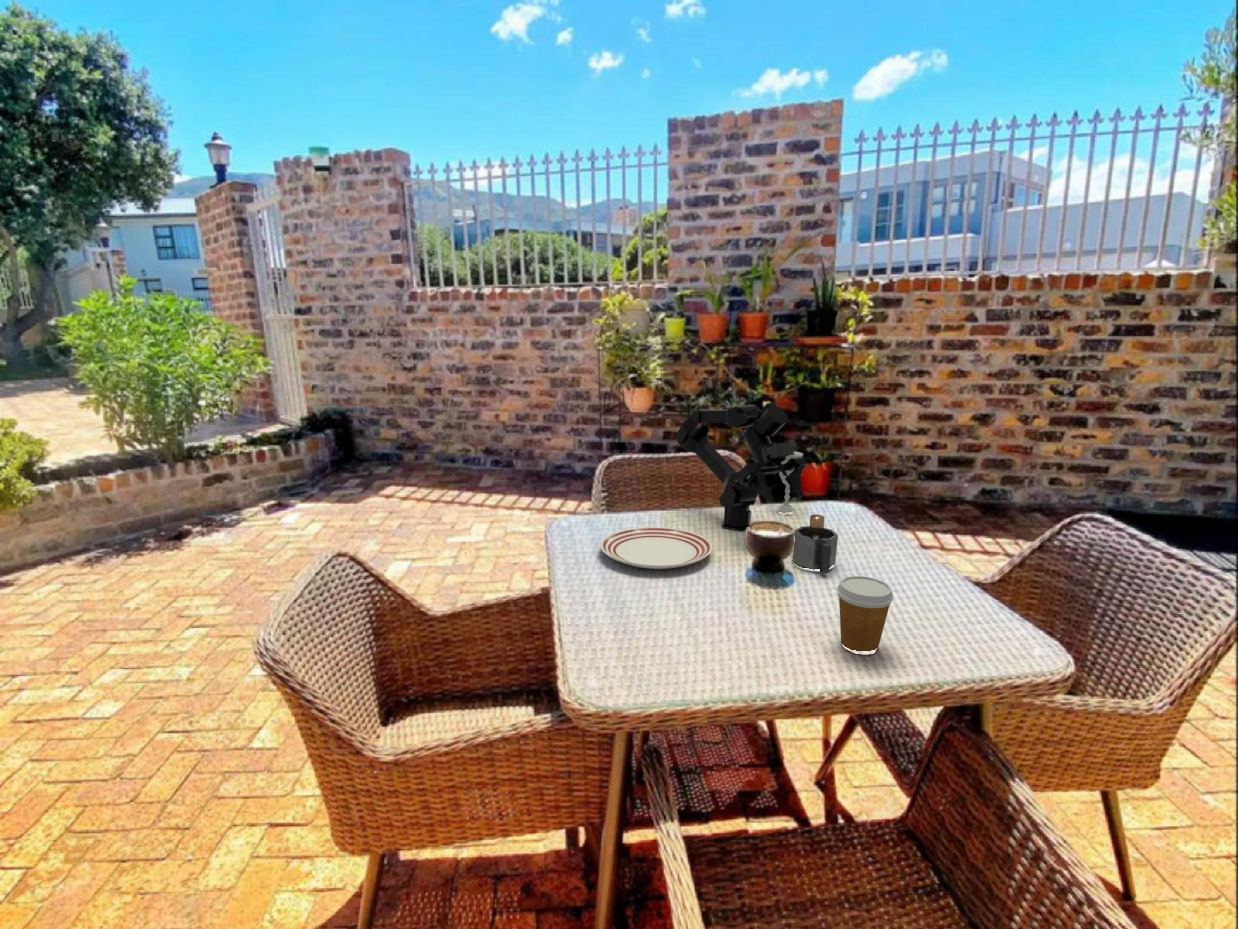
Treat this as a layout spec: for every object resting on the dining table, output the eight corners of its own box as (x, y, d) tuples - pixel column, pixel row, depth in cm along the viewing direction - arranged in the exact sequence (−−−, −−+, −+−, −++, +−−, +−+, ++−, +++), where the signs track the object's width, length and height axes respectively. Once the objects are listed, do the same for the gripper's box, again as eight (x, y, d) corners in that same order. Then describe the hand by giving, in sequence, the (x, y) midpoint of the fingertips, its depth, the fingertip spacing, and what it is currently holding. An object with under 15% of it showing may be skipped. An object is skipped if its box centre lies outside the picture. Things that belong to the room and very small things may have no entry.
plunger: (796, 562, 152) (799, 518, 149) (801, 552, 158) (805, 510, 155) (826, 567, 149) (830, 523, 146) (830, 557, 155) (834, 514, 152)
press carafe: (788, 557, 158) (790, 526, 156) (824, 556, 158) (827, 525, 156) (805, 577, 146) (808, 544, 144) (844, 576, 147) (847, 543, 145)
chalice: (772, 515, 189) (776, 455, 184) (774, 508, 195) (777, 450, 191) (798, 517, 187) (802, 457, 182) (799, 510, 193) (803, 451, 189)
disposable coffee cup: (843, 628, 124) (848, 570, 121) (894, 645, 118) (901, 584, 115) (823, 648, 117) (828, 587, 114) (877, 667, 111) (884, 603, 108)
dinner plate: (599, 536, 172) (599, 524, 171) (701, 535, 173) (702, 523, 172) (601, 579, 146) (601, 566, 145) (721, 578, 147) (722, 564, 146)
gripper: (746, 432, 156) (773, 487, 149) (805, 425, 164) (833, 478, 158) (725, 456, 165) (750, 510, 158) (782, 449, 173) (808, 500, 166)
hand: (786, 499), depth 160 cm, fingers open, 9 cm apart
